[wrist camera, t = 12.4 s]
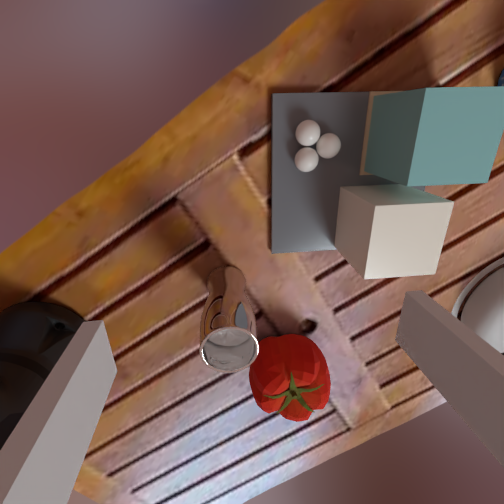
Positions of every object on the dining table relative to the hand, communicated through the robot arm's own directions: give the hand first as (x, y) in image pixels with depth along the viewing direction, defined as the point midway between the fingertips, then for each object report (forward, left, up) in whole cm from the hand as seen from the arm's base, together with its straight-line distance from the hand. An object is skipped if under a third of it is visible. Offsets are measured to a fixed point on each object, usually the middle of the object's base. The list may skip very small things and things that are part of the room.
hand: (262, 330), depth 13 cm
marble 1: (+9, +7, -29) cm, 31 cm away
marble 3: (+12, +5, -29) cm, 32 cm away
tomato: (+7, -30, -30) cm, 43 cm away
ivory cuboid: (+19, -5, -29) cm, 35 cm away
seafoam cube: (+22, +6, -29) cm, 37 cm away
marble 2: (+9, +4, -29) cm, 31 cm away
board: (+16, +1, -30) cm, 34 cm away
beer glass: (-2, -15, -30) cm, 34 cm away
